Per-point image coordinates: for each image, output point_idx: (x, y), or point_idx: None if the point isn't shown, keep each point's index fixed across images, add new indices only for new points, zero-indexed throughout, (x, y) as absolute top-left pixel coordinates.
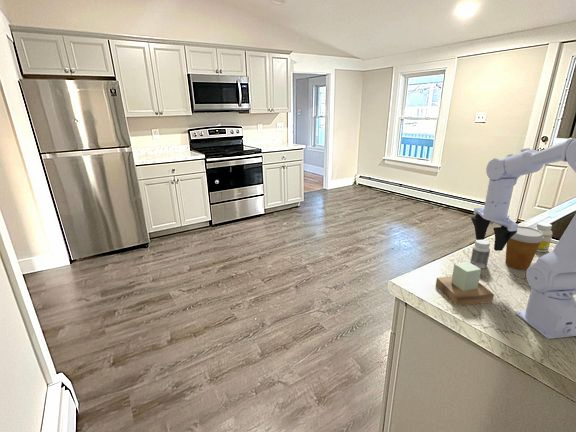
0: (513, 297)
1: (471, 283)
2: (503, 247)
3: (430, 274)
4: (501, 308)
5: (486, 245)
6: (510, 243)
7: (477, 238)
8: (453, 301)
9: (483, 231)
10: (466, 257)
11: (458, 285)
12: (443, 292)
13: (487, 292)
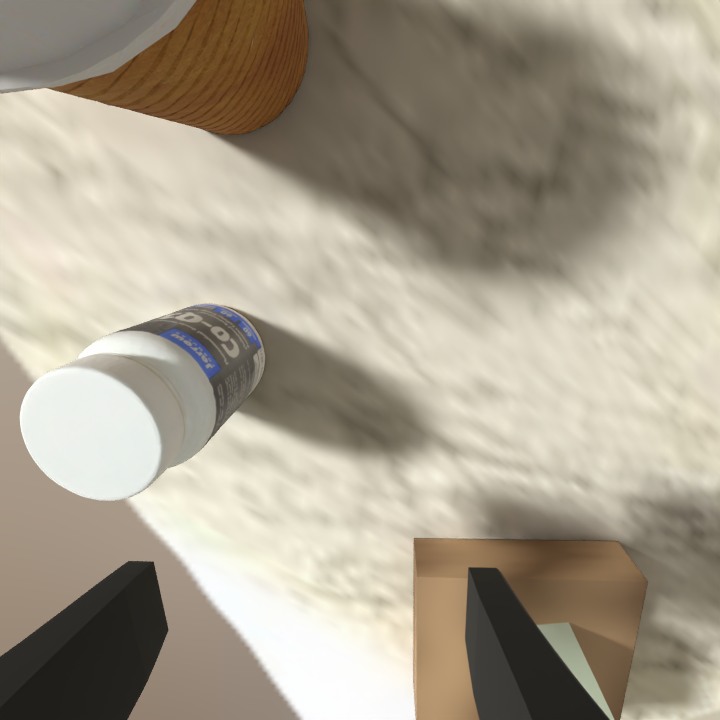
0: (613, 408)
1: None
2: (518, 605)
3: (309, 655)
4: (677, 533)
5: (170, 437)
6: (110, 98)
7: (156, 652)
8: None
9: (64, 703)
10: None
11: None
12: None
13: (621, 600)
